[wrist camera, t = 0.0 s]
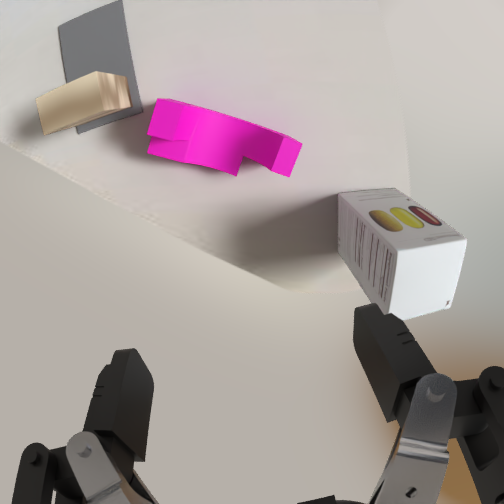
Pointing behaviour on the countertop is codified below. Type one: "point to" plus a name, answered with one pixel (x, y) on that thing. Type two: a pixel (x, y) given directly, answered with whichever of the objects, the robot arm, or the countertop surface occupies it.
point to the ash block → (83, 101)
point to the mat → (100, 53)
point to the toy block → (217, 139)
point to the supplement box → (399, 252)
